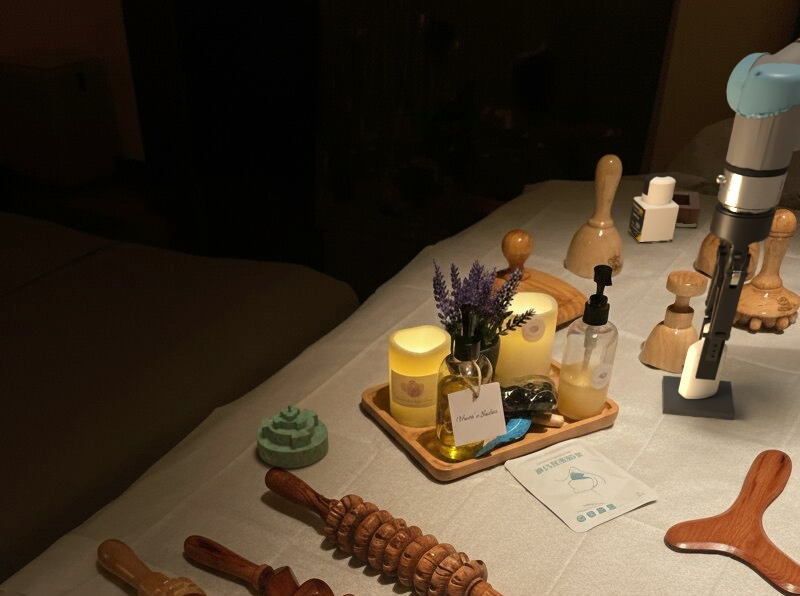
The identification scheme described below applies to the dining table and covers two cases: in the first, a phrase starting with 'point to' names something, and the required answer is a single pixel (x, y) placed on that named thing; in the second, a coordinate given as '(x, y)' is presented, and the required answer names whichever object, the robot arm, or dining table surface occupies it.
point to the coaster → (697, 401)
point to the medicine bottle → (654, 209)
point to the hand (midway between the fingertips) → (704, 369)
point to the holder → (687, 206)
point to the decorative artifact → (292, 438)
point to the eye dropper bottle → (689, 384)
